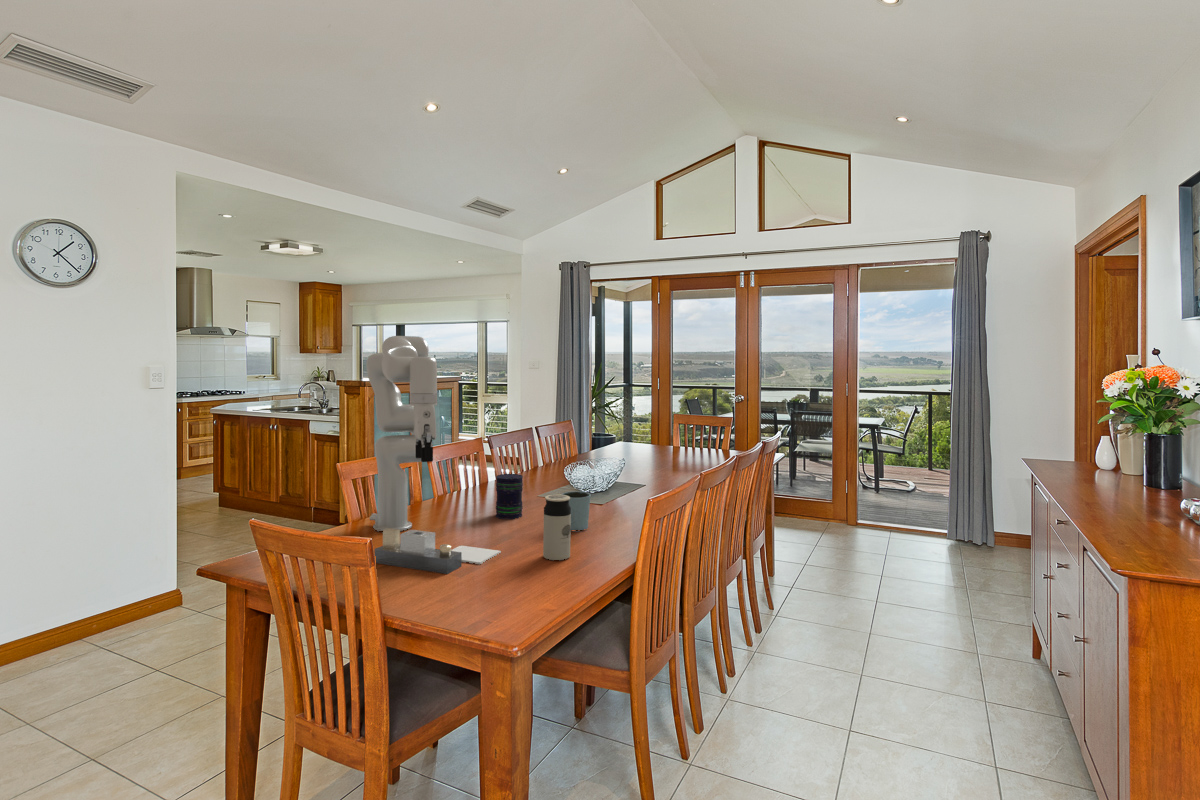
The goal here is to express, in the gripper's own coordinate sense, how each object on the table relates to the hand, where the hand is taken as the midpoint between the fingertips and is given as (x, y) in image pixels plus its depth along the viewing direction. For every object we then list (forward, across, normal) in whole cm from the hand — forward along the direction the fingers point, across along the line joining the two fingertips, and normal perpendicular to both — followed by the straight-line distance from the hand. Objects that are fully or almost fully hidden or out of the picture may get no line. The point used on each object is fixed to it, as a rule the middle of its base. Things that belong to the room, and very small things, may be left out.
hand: (424, 459), depth 184 cm
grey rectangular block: (+25, -3, +2) cm, 26 cm away
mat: (+29, 0, -13) cm, 32 cm away
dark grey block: (+29, -3, +2) cm, 29 cm away
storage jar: (+28, +42, -38) cm, 63 cm away
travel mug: (+30, -10, -36) cm, 48 cm away
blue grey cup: (+29, +17, -54) cm, 64 cm away
